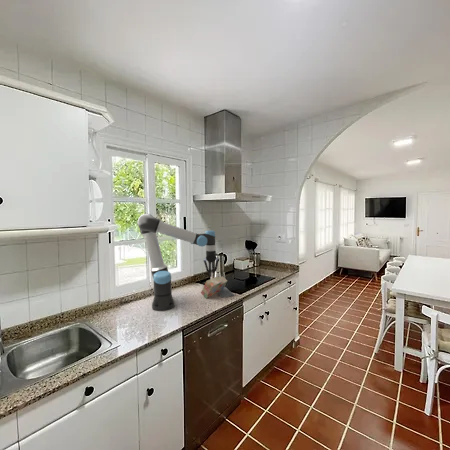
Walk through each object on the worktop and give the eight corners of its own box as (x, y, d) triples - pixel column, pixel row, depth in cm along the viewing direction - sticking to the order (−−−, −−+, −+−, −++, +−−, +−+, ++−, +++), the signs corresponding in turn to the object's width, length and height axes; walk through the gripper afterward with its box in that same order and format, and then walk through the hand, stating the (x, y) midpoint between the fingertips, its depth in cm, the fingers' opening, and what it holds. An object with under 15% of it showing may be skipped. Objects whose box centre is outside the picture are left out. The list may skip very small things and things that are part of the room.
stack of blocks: (218, 284, 204) (223, 273, 200) (223, 289, 202) (229, 278, 197) (200, 293, 188) (206, 280, 183) (206, 298, 185) (212, 286, 180)
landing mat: (221, 297, 186) (221, 296, 186) (214, 288, 207) (214, 288, 207) (234, 295, 189) (234, 295, 189) (225, 287, 210) (225, 286, 210)
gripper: (203, 251, 187) (204, 282, 189) (220, 250, 191) (221, 280, 193) (201, 250, 195) (202, 280, 196) (217, 249, 199) (218, 278, 200)
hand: (211, 280), depth 194 cm, fingers closed
